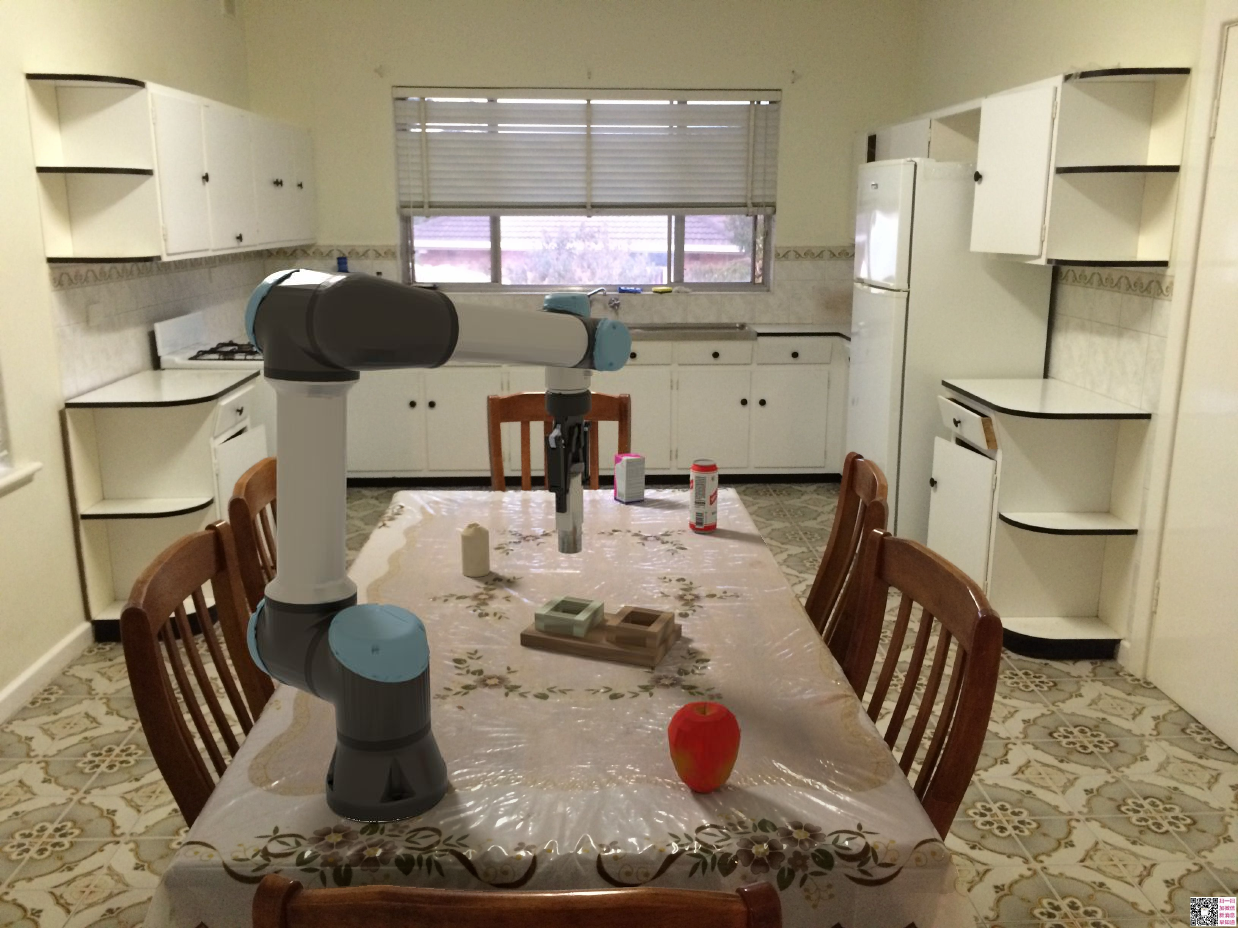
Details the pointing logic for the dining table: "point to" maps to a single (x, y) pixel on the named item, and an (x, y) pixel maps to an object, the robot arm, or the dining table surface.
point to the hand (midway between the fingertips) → (569, 525)
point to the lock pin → (573, 513)
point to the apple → (704, 744)
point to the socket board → (603, 631)
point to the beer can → (703, 496)
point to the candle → (475, 551)
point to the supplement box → (629, 478)
